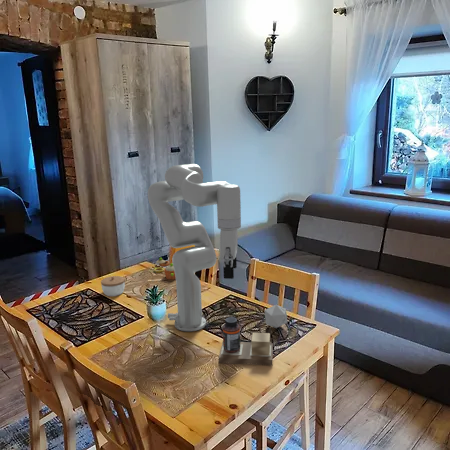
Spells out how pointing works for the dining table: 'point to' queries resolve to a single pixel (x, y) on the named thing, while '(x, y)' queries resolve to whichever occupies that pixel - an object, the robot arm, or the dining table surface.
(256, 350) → the oak block
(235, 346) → the supplement bottle
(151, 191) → the robot arm
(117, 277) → the lidded jar
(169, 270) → the cupcakes and donuts
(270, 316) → the die
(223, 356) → the base board
